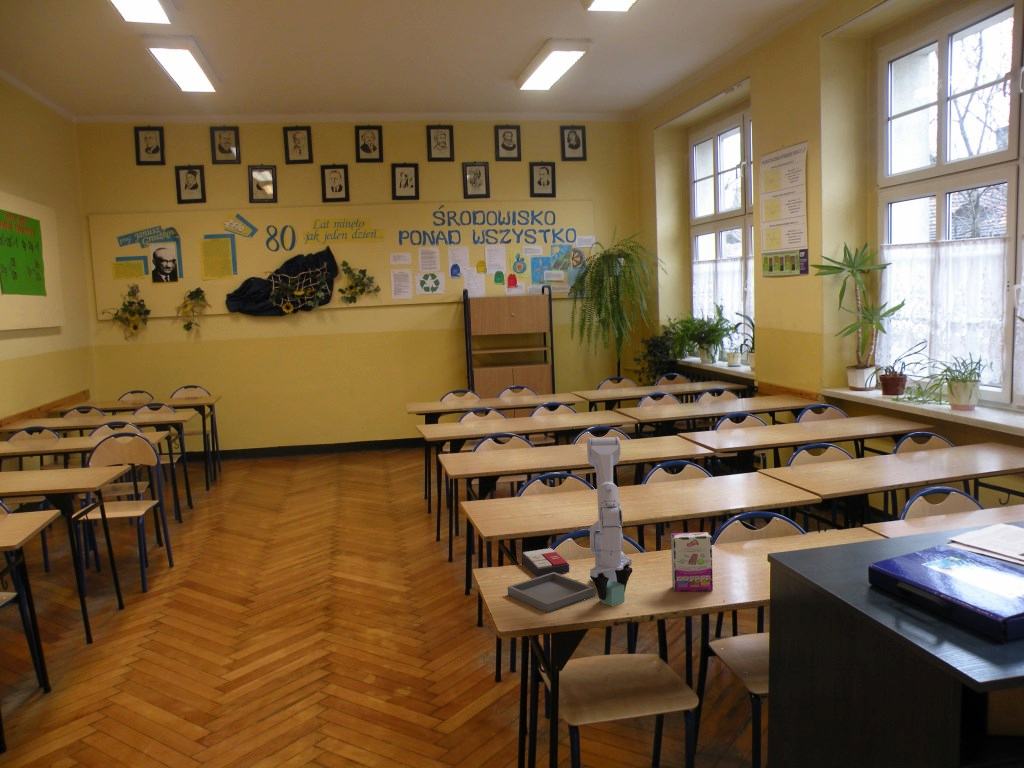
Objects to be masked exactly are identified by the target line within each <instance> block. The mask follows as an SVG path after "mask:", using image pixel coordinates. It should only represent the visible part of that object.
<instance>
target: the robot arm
mask: <svg viewBox="0 0 1024 768" xmlns="http://www.w3.org/2000/svg"><path fill="white" fill-rule="evenodd" d="M586 453H587V462H588V465H589V466H592V467H593V468H594V470H595V473H596V491H597V493H596V495H597V512H598V513H597V517H598V518H597V519H598V520H597V521H596V522H594V523H593V524H592V525H590V528H589V546H590V547H589V548H590V551H591V553H594V567H592V568H590V569H589V571H590V572H589V574H590V575H589V579H588V580H589V582H592V583H593V584H594V586H595V588H596V592H597V596H598V599H599V598H600V599H602V600H606V588H607V583H608V581H611V580H612V581H615V582H618V583H620V584H623V585H624V594H625V593H626V588H627V584H628V581H629V580H630V576H631V575H632V573H633V568H632V565H633V564H632V560H633V559H631V558H630V557H626V554H625V553H624V552H623V550H624V535H623V528H622V527H623V523H624V522H623V521H624V519H623V518H624V517H623V510H622V507H621V503H620V498H619V490H618V486H617V485H616V484H615V483H614V466H617V464H619V461H620V457H621V440H620V437H619V436H612V437H611V436H610V437H609V436H607V437H590V436H588V438H587V439H586Z"/></svg>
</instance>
